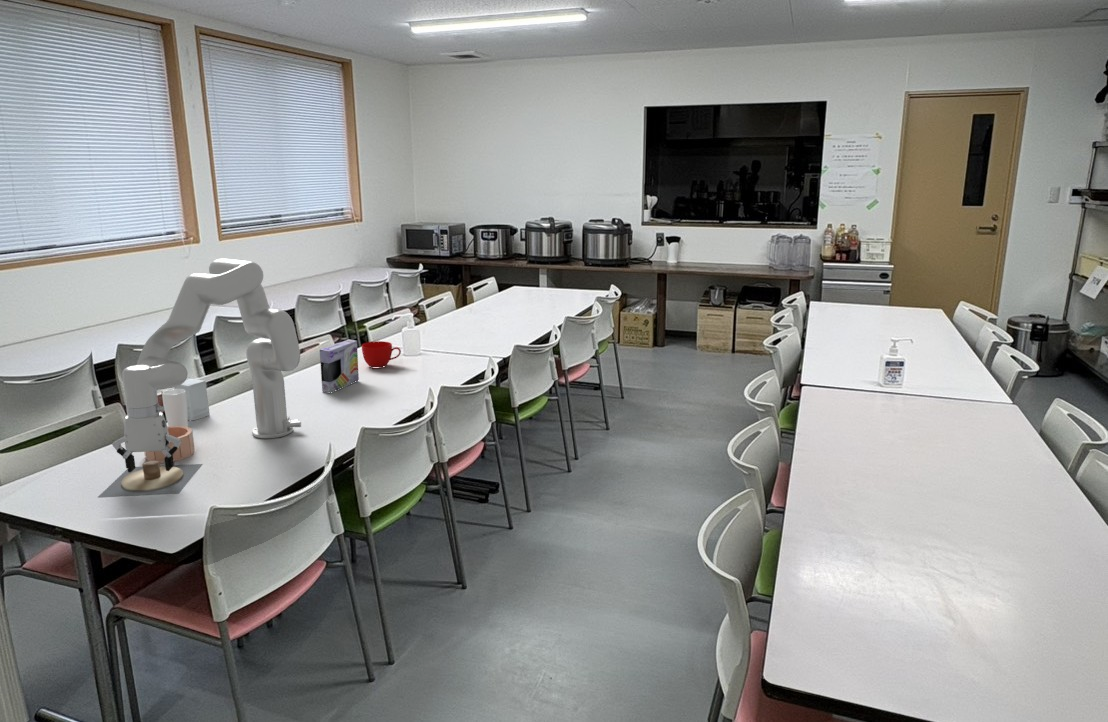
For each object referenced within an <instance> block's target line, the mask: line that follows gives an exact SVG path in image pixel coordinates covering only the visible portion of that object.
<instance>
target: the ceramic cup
mask: <svg viewBox="0 0 1108 722" xmlns="http://www.w3.org/2000/svg"><path fill="white" fill-rule="evenodd" d="M394 350H398V354H397V355H396V356H394V357H393V356H392V353H393V352H394ZM401 352H402V350H401V348H400V347H397V346H396V347H393V343H391V342H389V341H383V340H382V341H380V340H379V341H378V340H377V341H375V340H374V341H368V342H364V343H363V344H361V353H362V356H363V359H364V361H365V363H366V365H368V367H370V366H371V367H383V366H385V367H386V366H387V365H388V364H389V362H390V361H391V360H395V359H397V358H399V357H400V355H401ZM371 367H370V368H371Z"/></svg>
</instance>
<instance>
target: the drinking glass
mask: <svg viewBox="0 0 1108 722" xmlns="http://www.w3.org/2000/svg"><path fill="white" fill-rule="evenodd" d="M161 394H162V403H163V406H164V413H165V419H166V423H167V427H168V426H169V427H170V426H184V427H189V421H188V411H187V396H186V391H185V390H184V389H175V388H170V389H167V390H165V391H163V392H162V393H161Z"/></svg>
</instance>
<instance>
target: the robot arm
mask: <svg viewBox="0 0 1108 722" xmlns="http://www.w3.org/2000/svg"><path fill="white" fill-rule="evenodd" d="M263 281H264V271H263V268H262V267H261V266H260V265H259V264H258V263H257V262H255V261H250V260H242V259H241V260H240V259H233V258H232V259H231V258H217V259H215V260H213V261H212V262H211V263H210V264H209V266H208V273H201V272H198V273H197V272H196V273H191V274H190V275H188V276H187V277H186V278H185V280H184V281H183V284H182V286H181V288H180V290H179V293H178V296H177V297H176V300H175V303H174V305H173V307H172V309H171V313H170V315H169V317H168V319H167V320H166V322H164V324H162V325H160V327H158V329H157V330H156V331H155V332H154V333H152V334H151V336H149V338H148V339H147V340H146V342H145V344H144V345H143V347H142V350H141V352H140V354H139V357H138V358H137V362H136V364H135V365H130V366H127V367H125V368H124V369H123V370H122V372H121V378H122V385H123V390H124V392H123V393H124V398H125V399H124V400H125V407H126V416H125V418H124V426H123V427H124V431H123V433H124V434H123V437H120V438H119V439H115V441H113V442H112V443H111V445H112V447H113V448H114V450H116V453H117V454H118V455H120V456H121V457H122V459H123V460H124V463H125V468H126V469H128V472H132V471H133V470H134V469H135V467H136V461H135V456H134V454H133V453H144V452H155V451H161V452H162V453H163V454H164V455H166V457H165V458H164V460H165V462H164V466H165V468H166V471H169V470H170V469H171V468H172V467H173V466H174V465H175V461H173V453H174V452H175V451H176V450H177V449H178V448H179V446H180V444H181V442H182V440H181V439H179V438H176V437H174V436H171V435H169V432H168V428H167V427H168V423H167V420H166V417H165V415H164V413H163V412H165V409H164V405H160V403H159V399H158V390H164V389H165V390H166V389H167V390H168V389H175V388H174V387H177V386H180V385H181V384H183V383H184V382H185V380H188V379H187V378H188V369H187V367H186V366H185V365H184V364H183V363H181V362H179V361H177V360H172V359H166V358H167V355H168V354H169V351H170V350H172V348H173V347H174V346H175V345H176V344H177V343H179V342H181V341H183V340H185V339H187V338H190V337H192V336H194V335H196V334H198V333H199V332H200V331H201V330H202V327H203V324H204V322H205V319H206V316H207V314H208V311H209V309H210V308H211V307H210V306H211V305H216V306H223V305H227V304H229V303H232V302H234V301H236V302H237V303H236V304H238V305H237V306H238V308H239V309H238V310H239V314H240V317H241V320H242V325H243V328H244V331H245V332H246V333H247V334H248V335H249V336H251V337H255V338H256V339H254V340H252V341H251V342H249V344H248V345H247V348H246V352H245V353H246V361H247V364H248V367H249V370H250V374H251V380H252V381H251V382H252V391H253V402H254V412H255V420H256V421H255V422H256V427H254V428H253V429H252V430H251V432H252V433H251V434H252V436H253V437H255V438H258V439H275V438H280V437H285V436H287V435H289V434H291V433H292V432H293V431H294V428H301V427H302V422H301V420H300V421H299V419H294V420H292V419H290V415H288V414H287V400H286V390H285V387H286V386H285V380H284V379H285V378H284V375H283V372H286V373H287V372H291V371H294V370H295V369H297V368H298V366H299V364H300V361H301V349H300V345H299V344H300V343H299V340H298V337H297V332H296V327H295V323H294V321H293V319H292V317H291V316H290V314H288V312H286V310H283V309H279V308H272V307H271V306H270V305H269V302H268V298H267V295H266V292H265V289H264V287H263V285H262V284H263V283H262V282H263ZM170 442H172V443H174V446H173V448H171V447H169V446H168V445H169V444H170ZM123 443H124V447H123V446H122V444H123Z"/></svg>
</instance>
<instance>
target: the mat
mask: <svg viewBox="0 0 1108 722" xmlns="http://www.w3.org/2000/svg"><path fill="white" fill-rule="evenodd" d="M202 466H203V463H195V464H194V463H192V464H191V463H190V464H174V466H173V467H177V468H180V469H181V470H182V471H183V477H182V479H181V480H179V481H178V482H176V483H174V484H172V485H170V486H167V487H164V488H160V489H156V490H150V491H130V490H126V489H124V488H123V487H122V484H121V482H122V480H123V478H125V477H126V476H127V475H129V474H131V473H134V472H136V471H139V470H142V469H143V465H141V466H135V469H134V470H133V471H132V472H128V468H126V470H125V471H124V472H123V473H121V475H119V476H118V477H117V478H116V479H115V480H114V481H113V482H111V483H110V484H109V486H108V487H107V488H106V489H105V490H103V491H102V492H101V493H100V494H99V495H98V496H97V498H114V497H115V498H116V497H118V498H119V497H136V496H137V497H138V496H153V495H154V496H156V495H159V496H160V495H175V494H176V495H177V494H180V493H181V491H182V490H183V489H184V488H185V487H186V485H187V484H188V483H189V482H190V481H191V479H192V478H193V477H194V476H195V474H196V473H197V472H198V471H199V470H200V468H201V467H202Z"/></svg>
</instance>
